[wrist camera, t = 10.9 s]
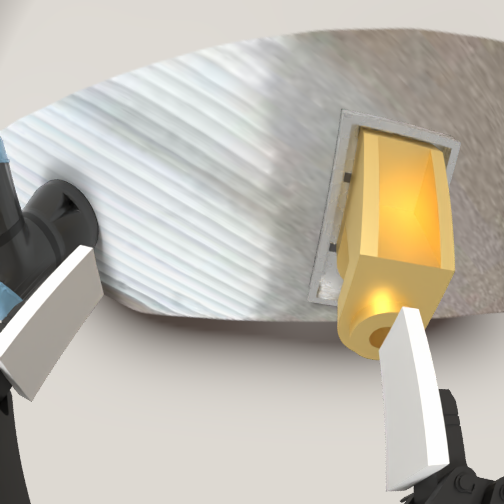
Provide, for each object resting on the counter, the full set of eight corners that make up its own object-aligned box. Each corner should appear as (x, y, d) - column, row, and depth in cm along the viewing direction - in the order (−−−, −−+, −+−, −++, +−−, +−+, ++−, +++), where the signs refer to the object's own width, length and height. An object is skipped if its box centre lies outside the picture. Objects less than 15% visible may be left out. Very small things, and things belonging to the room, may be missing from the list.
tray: (309, 286, 48) (307, 301, 45) (341, 108, 33) (343, 112, 30) (395, 299, 46) (398, 315, 43) (450, 135, 31) (460, 142, 28)
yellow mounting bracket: (391, 280, 43) (408, 370, 30) (330, 269, 44) (327, 361, 31) (433, 144, 32) (494, 200, 18) (360, 127, 33) (386, 171, 20)
